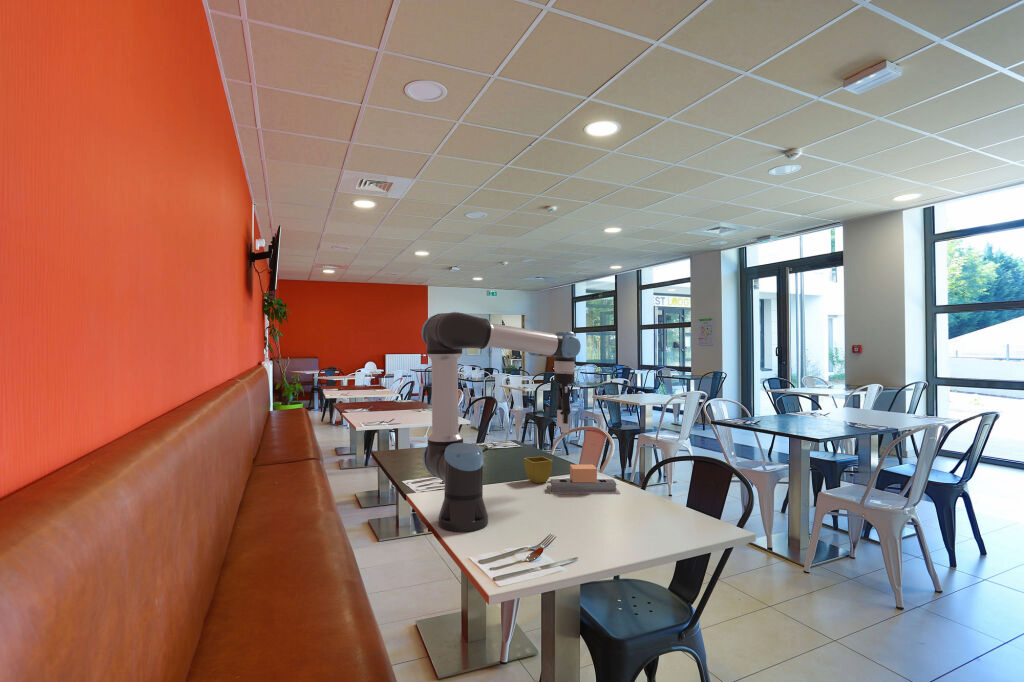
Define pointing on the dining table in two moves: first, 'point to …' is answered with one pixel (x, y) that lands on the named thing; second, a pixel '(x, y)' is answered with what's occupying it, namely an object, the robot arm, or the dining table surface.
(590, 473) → the orange tapered block
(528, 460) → the flower pot
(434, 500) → the dining table surface
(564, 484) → the rail
